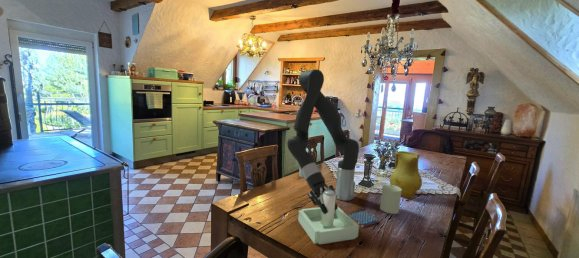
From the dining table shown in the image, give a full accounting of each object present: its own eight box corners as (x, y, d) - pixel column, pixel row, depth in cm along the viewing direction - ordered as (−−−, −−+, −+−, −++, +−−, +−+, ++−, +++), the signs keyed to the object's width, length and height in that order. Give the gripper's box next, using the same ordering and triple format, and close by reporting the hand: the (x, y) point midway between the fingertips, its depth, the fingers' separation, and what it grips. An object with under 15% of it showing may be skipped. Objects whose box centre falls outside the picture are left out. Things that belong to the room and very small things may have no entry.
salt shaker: (329, 219, 112) (332, 188, 110) (335, 225, 107) (338, 193, 105) (318, 220, 110) (320, 189, 108) (323, 227, 105) (326, 194, 103)
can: (398, 207, 133) (401, 185, 131) (399, 215, 125) (402, 192, 123) (379, 204, 136) (382, 182, 134) (379, 211, 127) (382, 188, 126)
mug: (302, 178, 168) (303, 163, 167) (296, 174, 176) (297, 160, 174) (318, 177, 173) (319, 162, 172) (312, 172, 181) (313, 159, 179)
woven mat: (362, 213, 126) (362, 209, 125) (379, 223, 116) (380, 219, 116) (346, 217, 120) (346, 213, 120) (362, 229, 111) (363, 224, 111)
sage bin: (335, 215, 121) (336, 205, 120) (358, 238, 103) (360, 226, 102) (297, 219, 115) (298, 209, 114) (315, 245, 97) (316, 232, 96)
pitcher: (387, 195, 147) (394, 152, 144) (388, 186, 164) (394, 148, 161) (421, 202, 141) (428, 158, 138) (417, 192, 158) (424, 152, 155)
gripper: (305, 174, 107) (324, 212, 99) (328, 168, 116) (347, 203, 109) (296, 182, 111) (314, 219, 104) (319, 176, 121) (337, 210, 113)
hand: (331, 211), depth 106 cm, fingers open, 5 cm apart
